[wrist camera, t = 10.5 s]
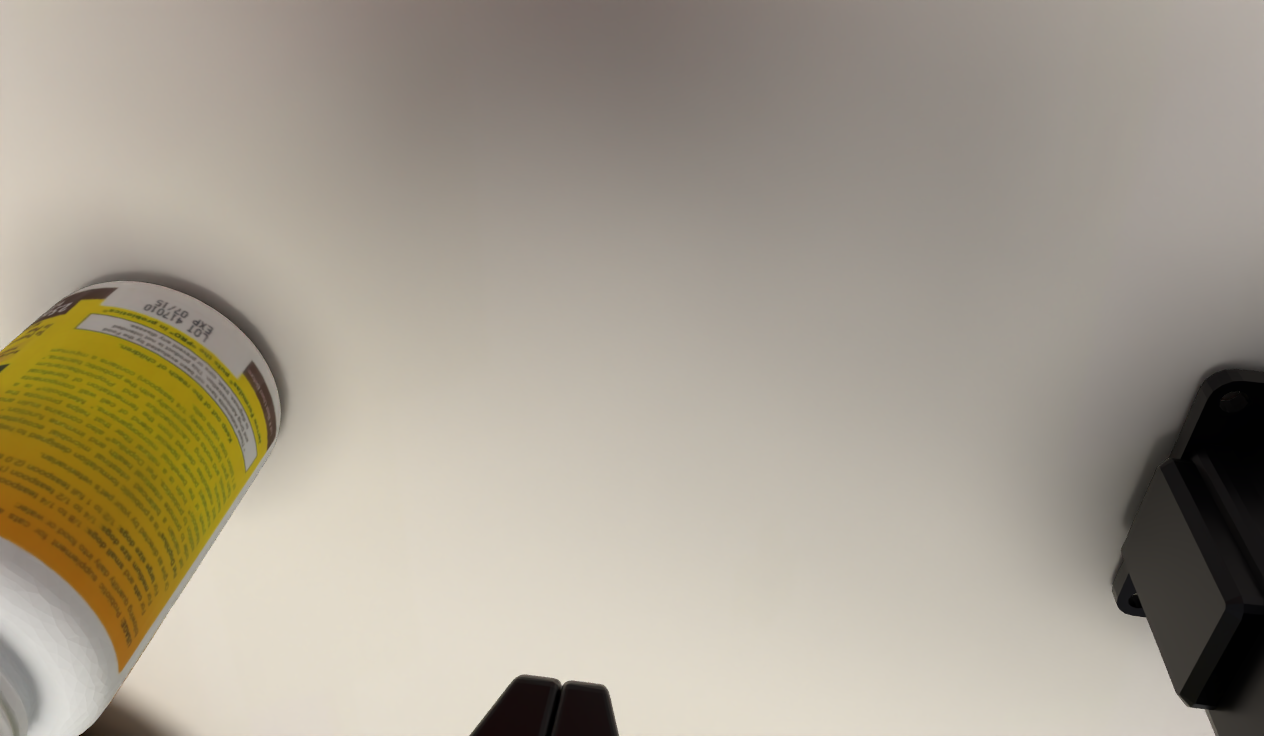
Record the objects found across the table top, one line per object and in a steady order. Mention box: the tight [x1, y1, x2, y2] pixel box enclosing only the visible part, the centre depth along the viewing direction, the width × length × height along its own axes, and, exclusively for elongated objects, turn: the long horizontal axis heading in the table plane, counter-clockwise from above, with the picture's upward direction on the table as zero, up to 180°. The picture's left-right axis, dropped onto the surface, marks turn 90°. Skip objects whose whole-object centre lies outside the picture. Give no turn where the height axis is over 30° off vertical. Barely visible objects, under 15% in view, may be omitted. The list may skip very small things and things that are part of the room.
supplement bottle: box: [0, 281, 281, 736], centre depth 19 cm, size 6×6×10 cm
